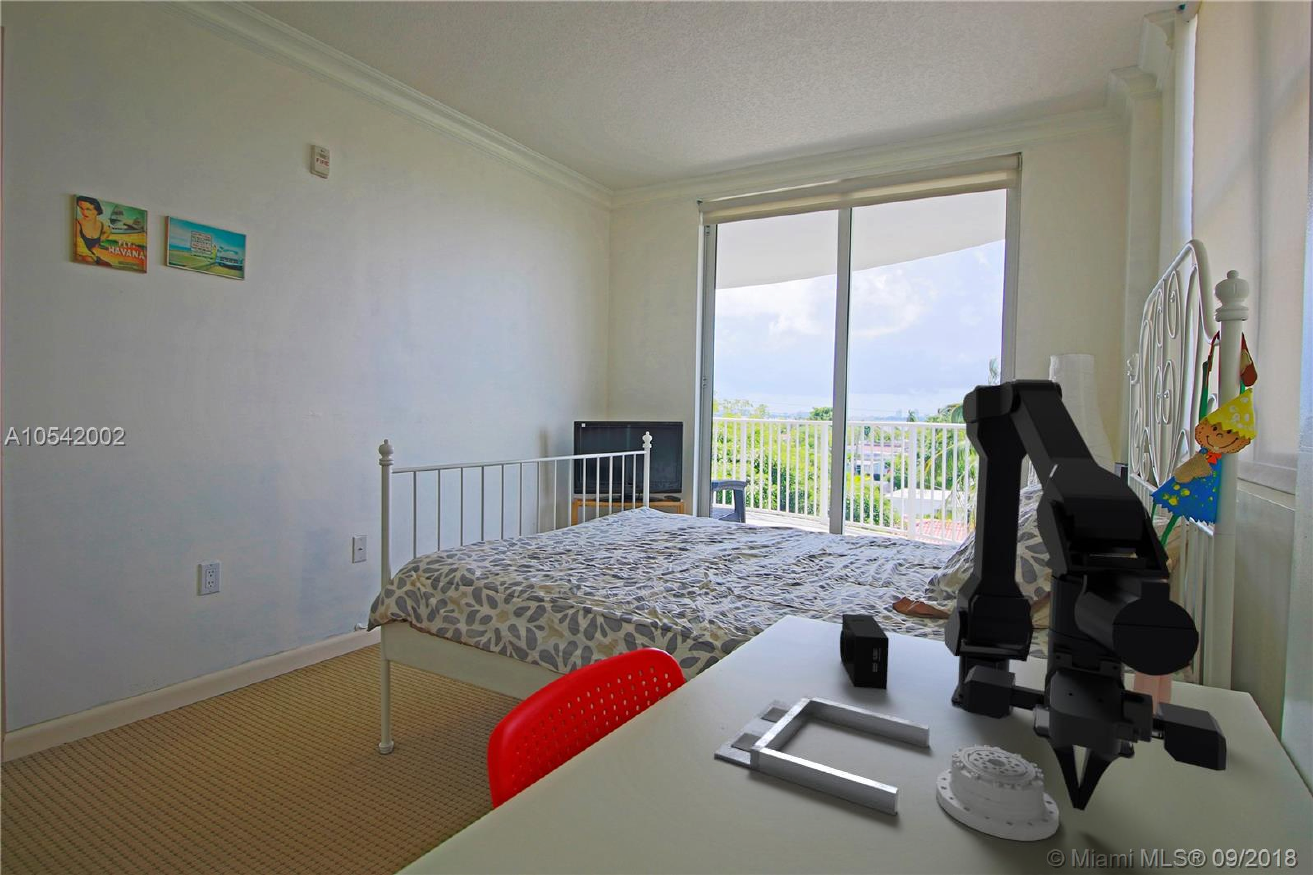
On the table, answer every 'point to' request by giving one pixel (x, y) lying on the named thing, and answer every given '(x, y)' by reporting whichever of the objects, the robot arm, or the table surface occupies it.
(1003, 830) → the mechanical component
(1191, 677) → the grandmother figurine
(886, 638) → the digital camera
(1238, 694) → the table surface
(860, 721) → the u-shaped metal bracket
